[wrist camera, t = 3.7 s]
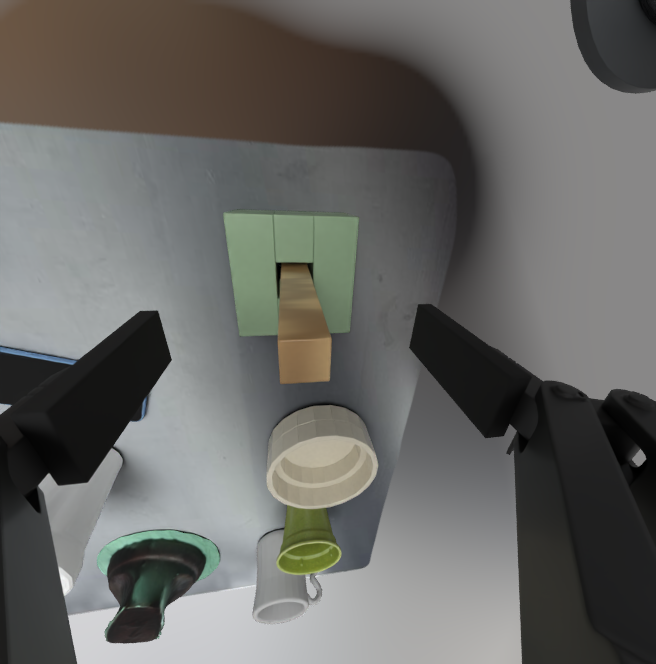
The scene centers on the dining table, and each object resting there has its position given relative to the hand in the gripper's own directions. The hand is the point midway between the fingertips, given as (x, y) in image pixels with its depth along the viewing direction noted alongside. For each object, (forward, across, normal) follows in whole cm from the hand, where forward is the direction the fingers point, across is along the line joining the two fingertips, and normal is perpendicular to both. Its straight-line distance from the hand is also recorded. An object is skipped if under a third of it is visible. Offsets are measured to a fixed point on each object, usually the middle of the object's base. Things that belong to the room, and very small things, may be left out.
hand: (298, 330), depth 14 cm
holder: (+15, 0, 0) cm, 15 cm away
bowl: (+15, +3, -26) cm, 30 cm away
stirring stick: (+15, 0, 0) cm, 15 cm away
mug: (+15, -2, -54) cm, 56 cm away
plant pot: (+15, +1, -40) cm, 43 cm away
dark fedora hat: (+15, -25, -54) cm, 61 cm away
